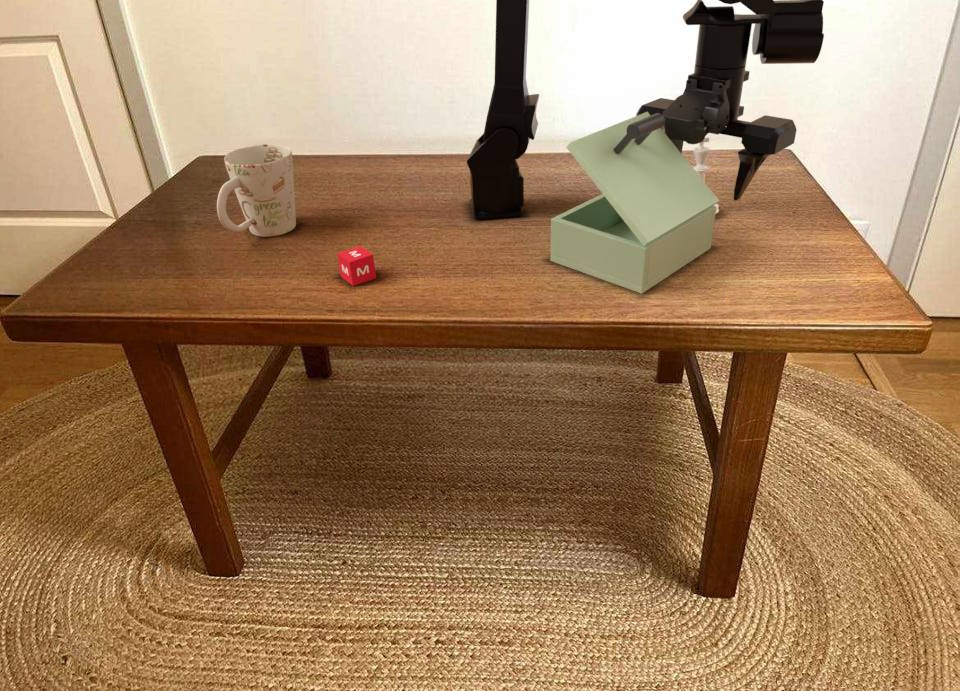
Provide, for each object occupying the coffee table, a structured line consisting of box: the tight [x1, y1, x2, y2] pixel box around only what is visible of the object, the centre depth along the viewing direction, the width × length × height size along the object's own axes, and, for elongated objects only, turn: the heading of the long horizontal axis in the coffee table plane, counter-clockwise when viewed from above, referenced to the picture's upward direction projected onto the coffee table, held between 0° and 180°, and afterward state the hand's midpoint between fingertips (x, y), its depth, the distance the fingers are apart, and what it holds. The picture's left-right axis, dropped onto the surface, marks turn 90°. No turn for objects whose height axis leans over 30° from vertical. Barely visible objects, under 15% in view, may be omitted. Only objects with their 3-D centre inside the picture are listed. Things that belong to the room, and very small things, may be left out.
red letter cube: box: [337, 245, 377, 287], centre depth 83 cm, size 3×3×3 cm
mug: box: [216, 143, 297, 238], centre depth 92 cm, size 8×13×10 cm, turn 155°
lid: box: [565, 112, 720, 246], centre depth 78 cm, size 13×15×5 cm
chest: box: [549, 193, 717, 295], centre depth 84 cm, size 13×15×5 cm
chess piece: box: [692, 137, 720, 214], centre depth 93 cm, size 5×5×10 cm
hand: (703, 191), depth 93 cm, fingers open, 9 cm apart
